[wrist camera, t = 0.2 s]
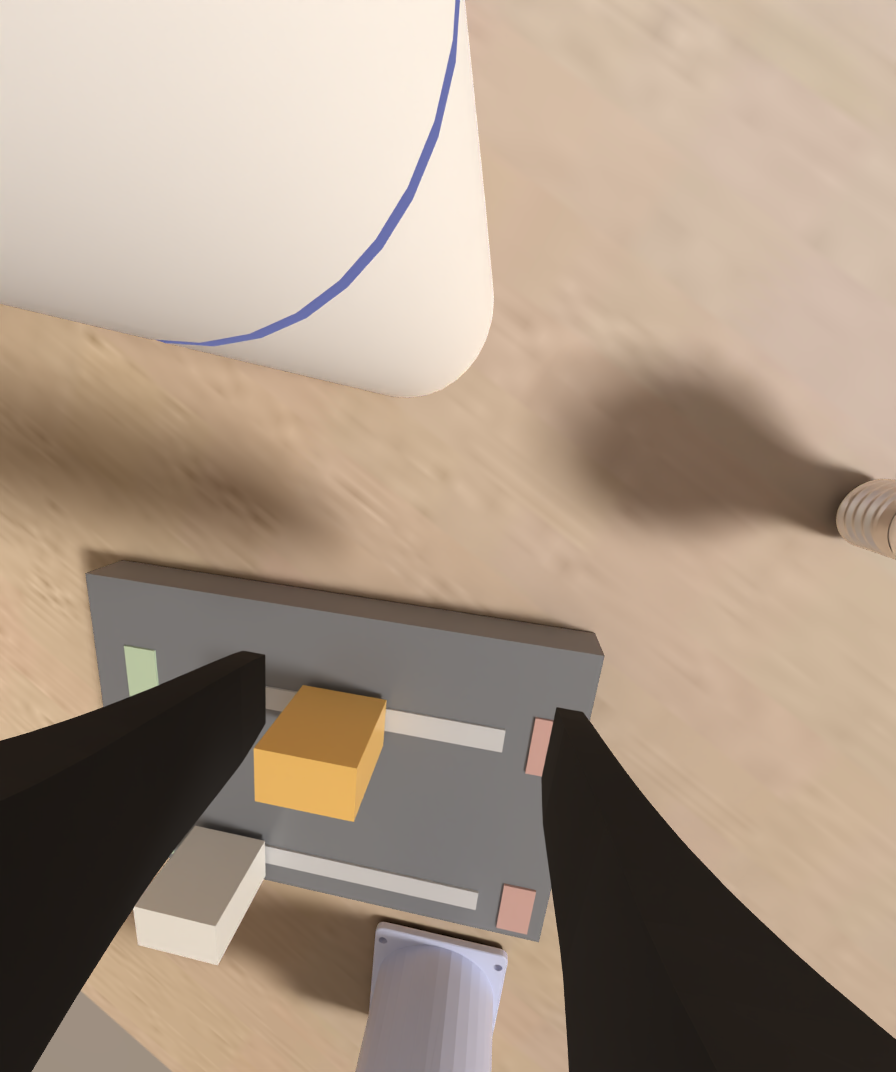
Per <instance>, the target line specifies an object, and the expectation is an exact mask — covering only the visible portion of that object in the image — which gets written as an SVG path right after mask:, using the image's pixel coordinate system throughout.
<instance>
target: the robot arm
mask: <svg viewBox="0 0 896 1072" xmlns="http://www.w3.org/2000/svg"><path fill="white" fill-rule="evenodd" d="M265 724H266V677H265V654H260V653H254V652H248V651H240V652H237V653H234V654H231V655H229V656H226V657H224V658H221V659H219V660H216V661H214V662H211V663H209V664H207V665H204V666H202V667H200V668H197V669H195V670H193V671H191V672H188V673H186V674H183V675H181V676H179V677H176V678H174V679H172V680H169V681H167V682H165V683H162V684H160V685H158V686H155V687H153V688H151V689H148V690H146V691H143V692H140V693H138V694H135V695H133V696H130V697H128V698H125V699H123V700H120V701H118V702H115V703H112V704H110V705H107V706H105V707H102V708H100V709H97V710H94V711H92V712H89V713H86V714H83V715H81V716H78V717H75V718H72V719H69V720H66V721H63V722H60V723H57V724H54V725H51V726H48V727H45V728H42V729H38V730H35V731H32V732H29V733H26V734H23V735H19V736H16V737H12V738H9V739H5V740H1V741H0V1072H31V1071H32V1070H33V1068H34V1067H35V1065H36V1063H37V1062H38V1060H39V1058H40V1057H41V1055H42V1053H43V1052H44V1050H45V1048H46V1046H47V1045H48V1043H49V1042H50V1040H51V1038H52V1037H53V1035H54V1033H55V1032H56V1030H57V1028H58V1027H59V1025H60V1023H61V1022H62V1020H63V1018H64V1017H65V1015H66V1013H67V1011H68V1010H69V1008H70V1007H71V1005H72V1003H73V1002H74V1000H75V998H76V997H77V995H78V994H79V992H80V991H81V989H82V987H83V986H84V984H85V983H86V981H87V979H88V978H89V976H90V975H91V973H92V972H93V970H94V968H95V967H96V965H97V964H98V962H99V961H100V959H101V957H102V956H103V954H104V953H105V951H106V949H107V948H108V946H109V945H110V943H111V942H112V940H113V938H114V937H115V935H116V934H117V932H118V931H119V929H120V928H121V926H122V925H123V923H124V922H125V920H126V919H127V917H128V915H129V914H130V912H131V911H132V909H133V908H134V906H135V905H136V903H137V902H138V900H139V899H140V897H141V896H142V894H143V893H144V891H145V890H146V888H147V887H148V885H149V884H150V882H151V881H152V879H153V878H154V876H155V875H156V874H157V872H158V871H159V870H160V868H161V867H162V866H163V864H164V863H165V861H166V860H167V859H168V857H169V856H170V855H171V853H172V852H173V851H174V850H175V848H176V847H177V846H178V844H179V843H180V842H181V841H182V839H183V838H184V837H185V836H186V834H187V833H188V832H189V830H190V829H191V828H192V827H193V825H194V824H195V823H196V821H197V820H198V819H199V818H200V816H201V815H202V814H203V813H204V811H205V810H206V809H207V807H208V806H209V805H210V804H211V802H212V801H213V800H214V799H215V797H216V796H217V795H218V793H219V792H220V791H221V790H222V788H223V787H224V786H225V784H226V783H227V782H228V781H229V779H230V778H231V777H232V775H233V774H234V773H235V771H236V770H237V769H238V767H239V766H240V765H241V763H242V762H243V760H244V759H245V757H246V756H247V754H248V753H249V751H250V749H251V748H252V746H253V744H254V743H255V741H256V739H257V738H258V736H259V734H260V732H261V731H262V729H263V727H264V726H265ZM541 784H542V816H543V830H544V837H545V845H546V852H547V859H548V866H549V873H550V881H551V888H552V895H553V902H554V909H555V916H556V923H557V930H558V937H559V944H560V952H561V962H562V971H563V982H564V997H565V1013H566V1028H567V1044H568V1061H569V1072H896V1039H895V1038H893V1037H892V1036H891V1035H890V1034H889V1033H887V1032H886V1031H885V1030H884V1029H883V1028H881V1027H880V1026H879V1025H878V1024H877V1023H875V1022H874V1021H873V1020H872V1019H871V1018H870V1017H868V1016H867V1015H866V1014H865V1013H864V1012H863V1011H861V1010H860V1009H859V1008H858V1007H857V1006H855V1005H854V1004H853V1003H852V1002H851V1001H850V1000H848V999H847V998H846V997H845V996H844V995H843V994H841V993H840V992H839V991H838V990H837V989H835V988H834V987H833V986H832V985H831V984H830V983H828V982H827V981H826V980H825V979H824V978H823V977H822V976H820V975H819V974H818V973H817V972H816V971H815V970H814V969H813V968H811V967H810V966H809V965H808V964H807V963H806V962H805V961H804V960H802V959H801V958H800V957H799V956H798V955H797V954H796V953H795V952H793V951H792V950H791V949H790V948H789V947H788V946H787V945H786V944H785V943H784V942H783V941H782V940H781V939H779V938H778V937H777V936H776V935H775V934H774V933H773V932H772V931H771V930H770V929H769V928H768V927H767V926H766V925H765V924H764V923H762V922H761V921H760V920H759V919H758V918H757V917H756V916H755V915H754V914H753V913H752V912H751V911H750V910H749V909H748V908H747V907H746V906H745V905H744V904H742V903H741V902H740V901H739V900H738V899H737V898H736V897H735V896H734V895H733V894H732V893H731V892H730V891H729V890H728V889H727V888H726V887H725V886H724V885H723V884H722V883H721V881H720V880H719V879H718V878H717V877H716V876H715V875H714V874H713V873H712V872H711V871H710V870H709V869H708V868H707V867H706V866H705V865H704V864H703V863H702V861H701V860H700V859H699V858H698V857H697V856H696V855H695V854H694V853H693V852H692V851H691V850H690V849H689V848H688V847H687V845H686V844H685V843H684V842H683V841H682V840H681V839H680V838H679V837H678V835H677V834H676V833H675V832H674V831H673V830H672V828H671V827H670V826H669V825H668V824H667V822H666V821H665V820H664V819H663V818H662V817H661V815H660V814H659V813H658V812H657V811H656V809H655V808H654V807H653V806H652V805H651V803H650V802H649V801H648V800H647V798H646V797H645V796H644V795H643V793H642V792H641V791H640V790H639V788H638V787H637V786H636V784H635V783H634V782H633V780H632V779H631V778H630V777H629V775H628V774H627V773H626V771H625V770H624V769H623V767H622V766H621V765H620V763H619V762H618V760H617V759H616V758H615V756H614V755H613V753H612V752H611V751H610V749H609V748H608V746H607V745H606V744H605V742H604V741H603V739H602V738H601V737H600V735H599V734H598V732H597V731H596V729H595V728H594V727H593V725H592V724H591V722H590V721H589V720H588V718H587V717H586V715H585V714H584V713H583V712H581V711H575V710H570V709H564V708H559V707H556V711H555V716H554V721H553V725H552V730H551V735H550V740H549V744H548V749H547V754H546V758H545V763H544V768H543V773H542V777H541ZM506 968H507V953H506V952H505V951H504V950H503V949H500V948H495V947H491V946H487V945H483V944H478V943H474V942H470V941H465V940H461V939H457V938H452V937H448V936H444V935H440V934H435V933H431V932H427V931H422V930H418V929H414V928H410V927H405V926H401V925H397V924H392V923H388V922H380V923H379V924H378V925H377V928H376V933H375V945H374V957H373V970H372V982H371V994H370V1007H369V1015H368V1020H367V1024H366V1028H365V1032H364V1037H363V1041H362V1045H361V1050H360V1054H359V1058H358V1062H357V1067H356V1071H355V1072H491V1065H492V1036H493V1031H494V1026H495V1021H496V1017H497V1012H498V1007H499V1002H500V997H501V992H502V987H503V982H504V978H505V973H506Z"/></svg>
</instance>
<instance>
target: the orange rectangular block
mask: <svg viewBox="0 0 896 1072" xmlns="http://www.w3.org/2000/svg"><path fill="white" fill-rule="evenodd" d="M386 702H387V700H384V699H379V698H373V697H367V696H362V695H356V694H351V693H345V692H339V691H334V690H328V689H323V688H317V687H311V686H306V685H302V687H301V688H300V689H299V691H298V692H297V693H296V694H295V696H294V697H293V698H292V700H291V701H290V702H289V703H288V705H287V706H286V707H285V709H284V710H283V711H282V712H281V714H280V715H279V716H278V718H277V719H276V720H275V721H274V723H273V724H272V725H271V727H270V728H269V729H268V730H267V732H266V733H265V734H264V736H263V737H262V738H261V739H260V741H259V742H258V743H257V745H256V746H255V747H254V787H255V801H256V802H261V803H266V804H271V805H275V806H280V807H285V808H290V809H294V810H299V811H304V812H309V813H313V814H318V815H323V816H328V817H332V818H337V819H342V820H347V821H352V822H354V820H355V818H356V815H357V812H358V810H359V807H360V805H361V802H362V799H363V797H364V794H365V792H366V789H367V786H368V784H369V781H370V779H371V776H372V773H373V771H374V768H375V765H376V763H377V760H378V758H379V755H380V752H381V750H382V747H383V742H384V728H385V715H386Z"/></svg>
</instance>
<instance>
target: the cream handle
mask: <svg viewBox="0 0 896 1072" xmlns="http://www.w3.org/2000/svg"><path fill="white" fill-rule="evenodd" d="M265 876H266V874H265V841H263V840H258V839H254V838H249V837H245V836H240V835H236V834H231V833H227V832H222V831H217V830H213V829H208V828H204V827H199V826H195V827H194V828H193V829H192V831H191V832H190V833H189V834H188V836H187V837H186V838H185V840H184V841H183V842H182V844H181V845H180V846H179V847H178V849H177V850H176V851H175V853H174V854H173V855H172V856H171V858H170V859H169V860H168V862H167V863H166V864H165V865H164V867H163V868H162V869H161V871H160V872H159V873H158V875H157V876H156V877H155V878H154V880H153V881H152V882H151V884H150V885H149V886H148V887H147V889H146V890H145V891H144V893H143V894H142V896H141V897H140V899H139V900H138V902H137V903H136V905H135V906H134V908H133V911H134V918H135V926H136V933H137V941H138V945H140V946H144V947H148V948H152V949H156V950H160V951H164V952H168V953H171V954H175V955H179V956H183V957H187V958H191V959H195V960H199V961H203V962H207V963H211V964H215V965H218V964H219V962H220V960H221V958H222V957H223V955H224V953H225V951H226V949H227V947H228V945H229V943H230V942H231V940H232V938H233V936H234V934H235V932H236V930H237V928H238V927H239V925H240V923H241V921H242V919H243V917H244V915H245V913H246V912H247V910H248V908H249V906H250V904H251V902H252V900H253V898H254V897H255V895H256V893H257V891H258V889H259V887H260V885H261V883H262V882H263V880H264V878H265Z"/></svg>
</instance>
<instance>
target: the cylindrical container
mask: <svg viewBox="0 0 896 1072" xmlns="http://www.w3.org/2000/svg"><path fill="white" fill-rule="evenodd" d="M0 304H3V305H8V306H12V307H16V308H20V309H24V310H29V311H33V312H37V313H41V314H46V315H50V316H54V317H58V318H62V319H67V320H71V321H75V322H79V323H84V324H88V325H92V326H96V327H100V328H105V329H109V330H113V331H117V332H122V333H126V334H130V335H134V336H138V337H143V338H147V339H153V340H158V341H161V342H164V343H168V344H172V345H176V346H181V347H185V348H189V349H193V350H198V351H202V352H206V353H210V354H215V355H219V356H223V357H227V358H231V359H236V360H240V361H244V362H248V363H253V364H257V365H261V366H265V367H269V368H274V369H278V370H282V371H286V372H291V373H295V374H299V375H303V376H308V377H312V378H316V379H320V380H324V381H329V382H333V383H337V384H341V385H346V386H350V387H354V388H358V389H362V390H367V391H371V392H375V393H379V394H383V395H388V396H392V397H404V398H411V397H418V396H425V395H428V394H431V393H434V392H436V391H439V390H442V389H443V388H445V387H446V386H448V385H450V384H451V383H453V382H454V381H456V380H457V379H458V378H459V377H460V376H461V375H462V374H463V373H464V372H466V371H467V370H468V369H469V367H470V366H471V365H472V363H473V362H474V360H475V359H476V358H477V356H478V355H479V353H480V351H481V349H482V347H483V345H484V343H485V341H486V339H487V335H488V332H489V328H490V325H491V322H492V315H493V305H494V294H493V282H492V271H491V260H490V249H489V238H488V227H487V215H486V205H485V195H484V185H483V175H482V165H481V155H480V145H479V136H478V126H477V116H476V106H475V96H474V86H473V76H472V66H471V56H470V46H469V36H468V26H467V17H466V7H465V0H0Z"/></svg>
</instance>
